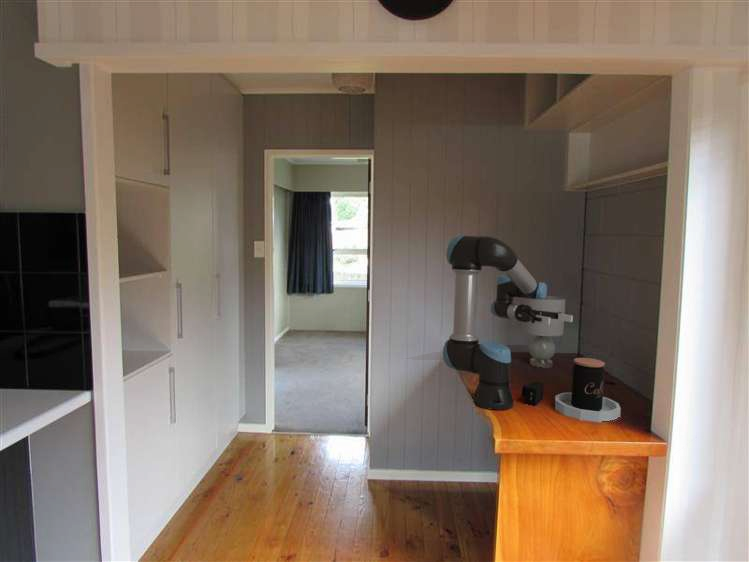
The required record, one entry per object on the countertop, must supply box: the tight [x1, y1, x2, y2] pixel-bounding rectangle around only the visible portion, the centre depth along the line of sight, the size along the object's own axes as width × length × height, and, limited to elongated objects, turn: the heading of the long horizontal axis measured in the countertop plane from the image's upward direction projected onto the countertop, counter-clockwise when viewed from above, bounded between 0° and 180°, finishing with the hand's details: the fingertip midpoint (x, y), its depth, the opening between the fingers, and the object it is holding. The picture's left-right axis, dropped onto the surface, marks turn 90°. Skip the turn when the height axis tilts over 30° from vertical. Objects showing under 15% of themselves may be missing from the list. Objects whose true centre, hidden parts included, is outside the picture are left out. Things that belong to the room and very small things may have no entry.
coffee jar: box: [571, 357, 606, 411], centre depth 175 cm, size 11×11×18 cm
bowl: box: [554, 391, 622, 423], centre depth 176 cm, size 22×22×4 cm
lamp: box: [522, 295, 566, 369], centre depth 241 cm, size 20×20×35 cm
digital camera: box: [521, 380, 545, 407], centre depth 185 cm, size 10×5×7 cm, turn 144°
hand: (561, 319), depth 188 cm, fingers open, 13 cm apart
